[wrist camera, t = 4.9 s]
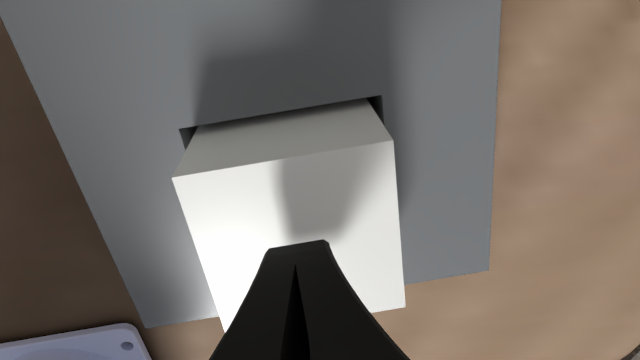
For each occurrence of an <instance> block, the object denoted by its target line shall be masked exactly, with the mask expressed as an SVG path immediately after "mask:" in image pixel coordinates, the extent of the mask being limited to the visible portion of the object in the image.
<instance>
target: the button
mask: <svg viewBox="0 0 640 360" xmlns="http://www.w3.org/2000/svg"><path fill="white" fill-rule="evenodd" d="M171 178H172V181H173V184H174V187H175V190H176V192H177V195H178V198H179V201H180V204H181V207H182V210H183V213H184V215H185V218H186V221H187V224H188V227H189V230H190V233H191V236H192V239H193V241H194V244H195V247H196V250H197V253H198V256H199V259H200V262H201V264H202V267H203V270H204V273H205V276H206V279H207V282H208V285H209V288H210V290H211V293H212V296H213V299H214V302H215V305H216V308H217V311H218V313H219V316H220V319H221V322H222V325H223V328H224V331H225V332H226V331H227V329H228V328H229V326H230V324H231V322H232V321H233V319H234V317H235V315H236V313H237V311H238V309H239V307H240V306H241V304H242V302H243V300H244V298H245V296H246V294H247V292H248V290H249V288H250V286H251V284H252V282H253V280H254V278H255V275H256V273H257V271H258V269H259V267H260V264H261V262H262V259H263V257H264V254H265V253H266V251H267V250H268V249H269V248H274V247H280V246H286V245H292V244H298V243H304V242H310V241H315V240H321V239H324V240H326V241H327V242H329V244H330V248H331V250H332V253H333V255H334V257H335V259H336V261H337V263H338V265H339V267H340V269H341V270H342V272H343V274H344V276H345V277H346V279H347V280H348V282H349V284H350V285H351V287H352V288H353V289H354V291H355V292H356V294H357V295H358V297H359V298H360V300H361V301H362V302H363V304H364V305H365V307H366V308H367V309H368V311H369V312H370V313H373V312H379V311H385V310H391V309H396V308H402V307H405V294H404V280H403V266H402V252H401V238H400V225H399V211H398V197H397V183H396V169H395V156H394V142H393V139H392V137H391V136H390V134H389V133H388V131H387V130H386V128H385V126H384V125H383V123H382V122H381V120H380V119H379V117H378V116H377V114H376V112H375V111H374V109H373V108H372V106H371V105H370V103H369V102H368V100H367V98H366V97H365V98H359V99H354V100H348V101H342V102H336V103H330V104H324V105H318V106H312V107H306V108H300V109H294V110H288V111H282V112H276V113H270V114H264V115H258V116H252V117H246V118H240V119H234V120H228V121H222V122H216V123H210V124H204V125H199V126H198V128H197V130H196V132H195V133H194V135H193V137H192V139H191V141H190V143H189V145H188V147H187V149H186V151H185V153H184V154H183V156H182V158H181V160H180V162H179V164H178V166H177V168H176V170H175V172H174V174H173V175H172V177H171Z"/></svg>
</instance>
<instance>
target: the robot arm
mask: <svg viewBox="0 0 640 360" xmlns="http://www.w3.org/2000/svg"><path fill="white" fill-rule="evenodd" d="M127 342H130V343H127ZM0 360H151V357H150V355H149V353H148V351H147V349H146V347H145V345H144V343H143V341H142V339H141V337H140V334H139V332H138V330H137V329H136V327H135V326H133V325H131V324H128V323H119V324H114V325H108V326H102V327H96V328H90V329H84V330H78V331H72V332H66V333H61V334H55V335H49V336H43V337H37V338H31V339H25V340H19V341H14V342H8V343H2V344H0ZM209 360H410V359H409V358H408V357H407V356H406V355H405V354H404V352H403V351H402V350H401V349H400V348H399V347H398V346H397V345H396V344H395V342H394V341H393V340H392V339H391V338H390V337H389V335H388V334H387V333H386V332H385V331H384V329H383V328H382V327H381V326H380V324H379V323H378V322H377V321H376V320H375V318H374V317H373V316H372V315H371V313H370V312H369V311H368V309H367V308H366V307H365V305H364V304H363V302H362V301H361V300H360V298H359V297H358V295H357V294H356V292H355V291H354V289H353V288H352V287H351V285H350V284H349V282H348V280H347V279H346V277H345V276H344V274H343V272H342V270H341V269H340V267H339V265H338V263H337V261H336V259H335V257H334V255H333V253H332V250H331V248H330V244H329V242H327V241H326V240H324V239H321V240H315V241H310V242H304V243H298V244H292V245H286V246H280V247H274V248H269V249H268V250H267V251H266V253H265V254H264V257H263V259H262V262H261V264H260V267H259V269H258V271H257V273H256V275H255V278H254V280H253V282H252V284H251V286H250V288H249V290H248V292H247V294H246V296H245V298H244V300H243V302H242V304H241V306H240V307H239V309H238V311H237V313H236V315H235V317H234V319H233V321H232V322H231V324H230V326H229V328H228V329H227V331H226V332H225V334H224V336H223V337H222V339H221V341H220V342H219V344H218V346H217V347H216V349H215V351H214V352H213V354H212V356H211V357H210V359H209Z"/></svg>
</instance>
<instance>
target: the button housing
mask: <svg viewBox="0 0 640 360" xmlns="http://www.w3.org/2000/svg"><path fill="white" fill-rule="evenodd" d="M500 16H501V0H0V17H1V19H2V21H3V23H4V25H5V27H6V29H7V32H8V34H9V36H10V38H11V40H12V42H13V45H14V47H15V49H16V51H17V53H18V55H19V57H20V60H21V62H22V64H23V66H24V68H25V70H26V73H27V75H28V77H29V79H30V81H31V83H32V85H33V88H34V90H35V92H36V94H37V96H38V98H39V101H40V103H41V105H42V107H43V109H44V111H45V113H46V116H47V118H48V120H49V122H50V124H51V126H52V129H53V131H54V133H55V135H56V137H57V139H58V141H59V144H60V146H61V148H62V150H63V152H64V154H65V157H66V159H67V161H68V163H69V165H70V167H71V169H72V172H73V174H74V176H75V178H76V180H77V182H78V185H79V187H80V189H81V191H82V193H83V195H84V197H85V200H86V202H87V204H88V206H89V208H90V210H91V213H92V215H93V217H94V219H95V221H96V223H97V225H98V228H99V230H100V232H101V234H102V236H103V238H104V241H105V243H106V245H107V247H108V249H109V251H110V253H111V256H112V258H113V260H114V262H115V264H116V266H117V269H118V271H119V273H120V275H121V277H122V279H123V281H124V284H125V286H126V288H127V290H128V292H129V294H130V296H131V299H132V301H133V303H134V305H135V307H136V309H137V312H138V314H139V316H140V318H141V320H142V322H143V324H144V327H145V329H147V328H153V327H159V326H165V325H171V324H176V323H182V322H188V321H194V320H200V319H206V318H212V317H218V316H219V313H218V311H217V308H216V305H215V302H214V299H213V296H212V293H211V290H210V288H209V285H208V282H207V279H206V276H205V273H204V270H203V267H202V264H201V262H200V259H199V256H198V253H197V250H196V247H195V244H194V241H193V239H192V236H191V233H190V230H189V227H188V224H187V221H186V218H185V215H184V213H183V210H182V207H181V204H180V201H179V198H178V195H177V192H176V190H175V187H174V184H173V181H172V178H171V177H172V175H173V174H174V172H175V170H176V168H177V166H178V164H179V162H180V160H181V158H182V156H183V154H184V153H185V151H186V149H187V147H188V145H189V143H190V141H191V139H192V137H193V135H194V133H195V132H196V130H197V128H198V126H199V125H204V124H210V123H216V122H222V121H228V120H234V119H240V118H246V117H252V116H258V115H264V114H270V113H276V112H282V111H288V110H294V109H300V108H306V107H312V106H318V105H324V104H330V103H336V102H342V101H348V100H354V99H359V98H365V97H366V98H367V100H368V102H369V103H370V105H371V106H372V108H373V109H374V111H375V112H376V114H377V116H378V117H379V119H380V120H381V122H382V123H383V125H384V126H385V128H386V130H387V131H388V133H389V134H390V136H391V137H392V139H393V142H394V156H395V169H396V183H397V197H398V211H399V225H400V238H401V252H402V266H403V280H404V285H406V284H412V283H418V282H423V281H429V280H435V279H441V278H447V277H453V276H459V275H465V274H470V273H476V272H482V271H488V270H489V255H490V234H491V212H492V190H493V168H494V147H495V125H496V103H497V82H498V60H499V38H500Z"/></svg>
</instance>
